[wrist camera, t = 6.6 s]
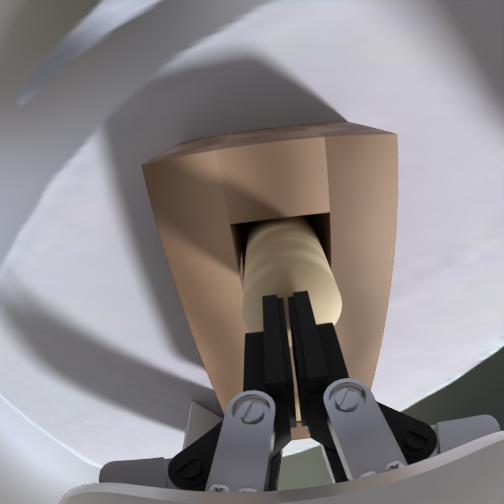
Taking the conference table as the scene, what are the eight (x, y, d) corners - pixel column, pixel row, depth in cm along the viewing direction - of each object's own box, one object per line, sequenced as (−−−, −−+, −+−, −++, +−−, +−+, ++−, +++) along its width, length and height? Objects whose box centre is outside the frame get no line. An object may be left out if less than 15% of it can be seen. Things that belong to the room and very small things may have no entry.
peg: (310, 198, 17) (343, 262, 11) (313, 257, 19) (340, 340, 12) (242, 206, 18) (233, 275, 11) (252, 264, 19) (249, 351, 13)
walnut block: (348, 122, 19) (397, 134, 12) (345, 371, 31) (359, 429, 24) (181, 142, 20) (141, 165, 13) (240, 383, 32) (237, 443, 25)
